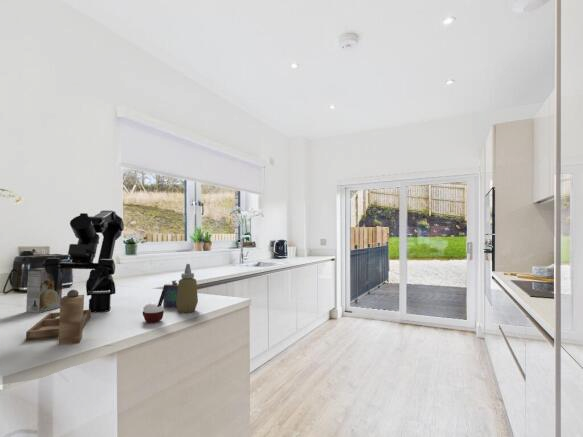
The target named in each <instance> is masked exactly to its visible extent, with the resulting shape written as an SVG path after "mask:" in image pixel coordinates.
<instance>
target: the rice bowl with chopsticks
mask: <svg viewBox="0 0 583 437" xmlns="http://www.w3.org/2000/svg"><path fill="white" fill-rule="evenodd" d="M166 290H167V286H164V285H163V287H162V290H161V294H160V297H159V300H158V302H154V301H153V302H149V303H148V304H145V305H144V306H143V310H142V316H143V318H144V321H145V322H146V323H147V324H156V323H159V322H160V321H162V319H163V317H164V313H165V307H164V306H163V300H164V296H165V293H166Z"/></svg>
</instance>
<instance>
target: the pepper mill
mask: <svg viewBox="0 0 583 437" xmlns="http://www.w3.org/2000/svg"><path fill="white" fill-rule="evenodd" d="M84 304H85V294H80V293H79V291H78V290H76V289H71V290H69V291H68V292H67V293H66V295H64V296H62V298H61V299H60V308H59V312H60V319H59V338H58V342H57V343H58V344H57V345H58V346H65V345H72V344H74V345H75V344H80V343H81V341H82V339H83V330H84V328H83V310H85V309H84Z"/></svg>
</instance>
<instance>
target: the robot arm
mask: <svg viewBox="0 0 583 437" xmlns="http://www.w3.org/2000/svg"><path fill="white" fill-rule="evenodd" d="M69 225H70V227H71V230H72V232H73V233H74V236H75V238H76V239H78V241H77V243H70V244H69V246H68V251H67V255H69V257H68V258H69V260H70V262H69V261H65V262H64V261H63V260H62V258H61V257H47V258H45V259H44V260H43V262H42V266H43V267H42V268H45V270H46V272H47V273H49V274H51V276H53V278H54V289H55V291H57V290H58V288H59V285H60V282H61V279H62V280H63V275H64V274H63V272H64V270H65V269H69V270H73V269H75V270H76V269H77V270H90V271H89V276H88V279H87V280H86V283H85V290H86V296H87V297H88V296H90V298H89V299H88V310H91V314H92V313H101V312H110V311H111V308H112V306H111V299H112V298H111V296H112V295H115V294H116V284H115V282H114V277H113V275H114V274H115V272H116V263H115V260H114V259H113V255H114V251H115V245H116V241H117V240H118V239H120V237H121V236H122V233H123V232H124V228H125V225H124V221H123V218H122V217H121V216H119V215H118V214H117V213H116V211H115V210H100V212H99V213H97V214H95V215H93V216H89V215H88V212H87V213H83V212H82V213H79V215H77V216H75V217H73V218H72V219H71V220H70V221H69ZM122 231H123V232H122ZM99 234H101V235H102V236H103V237H102V242H101V246H100V250H99V255H98V260H97V262H94V260H95V258H96V254H97V249H98V245H99V244H100V237H101V236H100V235H99Z"/></svg>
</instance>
